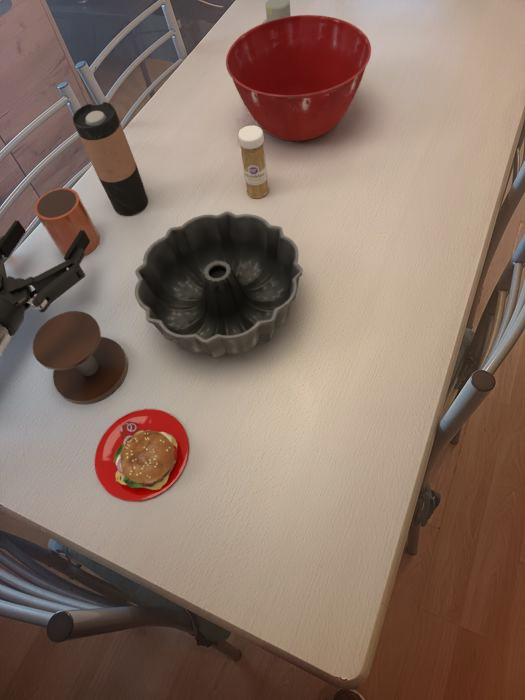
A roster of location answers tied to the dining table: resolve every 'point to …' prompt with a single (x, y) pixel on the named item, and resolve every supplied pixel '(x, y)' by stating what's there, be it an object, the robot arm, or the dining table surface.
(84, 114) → the travel mug
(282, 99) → the mixing bowl
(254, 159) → the sprinkles bottle
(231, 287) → the bundt pan
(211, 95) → the dining table surface
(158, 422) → the hamburger
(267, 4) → the air freshener
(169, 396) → the dining table surface
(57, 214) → the tumbler
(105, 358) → the wooden pedestal stand
